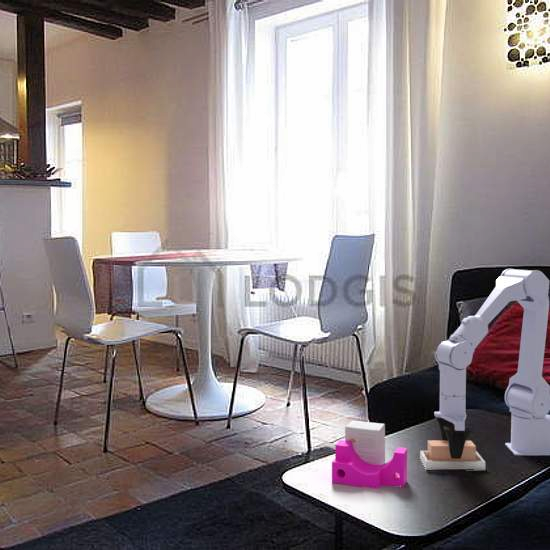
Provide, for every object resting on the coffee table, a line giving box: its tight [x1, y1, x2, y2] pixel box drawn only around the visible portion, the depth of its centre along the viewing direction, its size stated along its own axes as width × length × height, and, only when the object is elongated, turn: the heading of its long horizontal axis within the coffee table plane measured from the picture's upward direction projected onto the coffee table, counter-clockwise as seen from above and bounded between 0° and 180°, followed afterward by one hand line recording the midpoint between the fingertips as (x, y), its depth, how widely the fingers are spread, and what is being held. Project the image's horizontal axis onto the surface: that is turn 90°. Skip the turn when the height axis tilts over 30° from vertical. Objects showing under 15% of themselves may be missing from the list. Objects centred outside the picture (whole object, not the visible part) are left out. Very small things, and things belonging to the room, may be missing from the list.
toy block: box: [331, 439, 408, 490], centre depth 139 cm, size 15×6×8 cm, turn 67°
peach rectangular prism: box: [427, 439, 477, 461], centre depth 147 cm, size 4×10×5 cm, turn 88°
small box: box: [344, 420, 386, 465], centre depth 145 cm, size 8×6×10 cm
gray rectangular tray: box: [419, 450, 486, 471], centre depth 147 cm, size 13×7×2 cm, turn 88°
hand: (451, 452), depth 147 cm, fingers open, 7 cm apart
